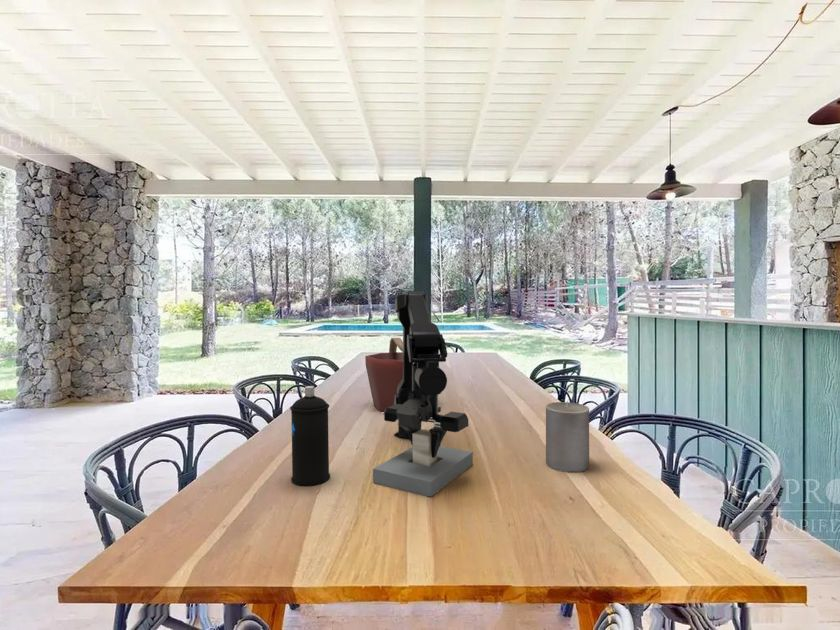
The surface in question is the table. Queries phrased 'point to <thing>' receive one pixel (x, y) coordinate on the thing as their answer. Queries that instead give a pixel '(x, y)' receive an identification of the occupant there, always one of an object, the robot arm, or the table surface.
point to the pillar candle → (567, 436)
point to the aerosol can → (310, 440)
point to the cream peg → (423, 448)
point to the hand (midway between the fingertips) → (425, 455)
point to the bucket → (385, 374)
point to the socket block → (422, 471)
